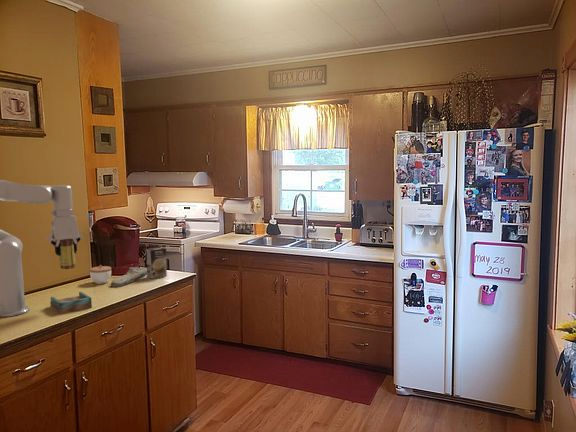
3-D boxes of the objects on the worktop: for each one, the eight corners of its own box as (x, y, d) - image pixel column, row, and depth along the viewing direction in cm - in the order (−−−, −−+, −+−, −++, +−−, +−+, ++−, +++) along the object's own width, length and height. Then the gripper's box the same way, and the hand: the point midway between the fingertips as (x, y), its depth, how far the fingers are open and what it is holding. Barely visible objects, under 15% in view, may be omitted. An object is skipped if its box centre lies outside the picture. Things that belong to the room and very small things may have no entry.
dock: (60, 313, 196) (59, 303, 195) (50, 306, 206) (50, 296, 206) (91, 307, 205) (91, 297, 204) (81, 300, 215) (80, 291, 214)
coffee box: (151, 279, 256) (150, 250, 254) (146, 276, 261) (145, 248, 259) (167, 276, 262) (166, 248, 260) (162, 274, 267) (161, 246, 265)
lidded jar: (88, 285, 242) (87, 267, 241) (92, 280, 253) (91, 263, 252) (110, 284, 244) (109, 266, 243) (113, 279, 255) (112, 262, 254)
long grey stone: (105, 290, 240) (123, 291, 238) (105, 280, 239) (123, 281, 237) (137, 271, 274) (153, 272, 272) (137, 262, 273) (153, 263, 271)
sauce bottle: (69, 266, 210) (67, 222, 208) (78, 267, 207) (76, 223, 205) (56, 268, 204) (53, 224, 202) (65, 270, 201) (63, 224, 199)
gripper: (45, 215, 194) (48, 258, 196) (87, 212, 206) (89, 252, 208) (39, 214, 199) (42, 255, 202) (80, 211, 212) (83, 250, 214)
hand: (66, 253), depth 205 cm, fingers closed on sauce bottle, 6 cm apart
